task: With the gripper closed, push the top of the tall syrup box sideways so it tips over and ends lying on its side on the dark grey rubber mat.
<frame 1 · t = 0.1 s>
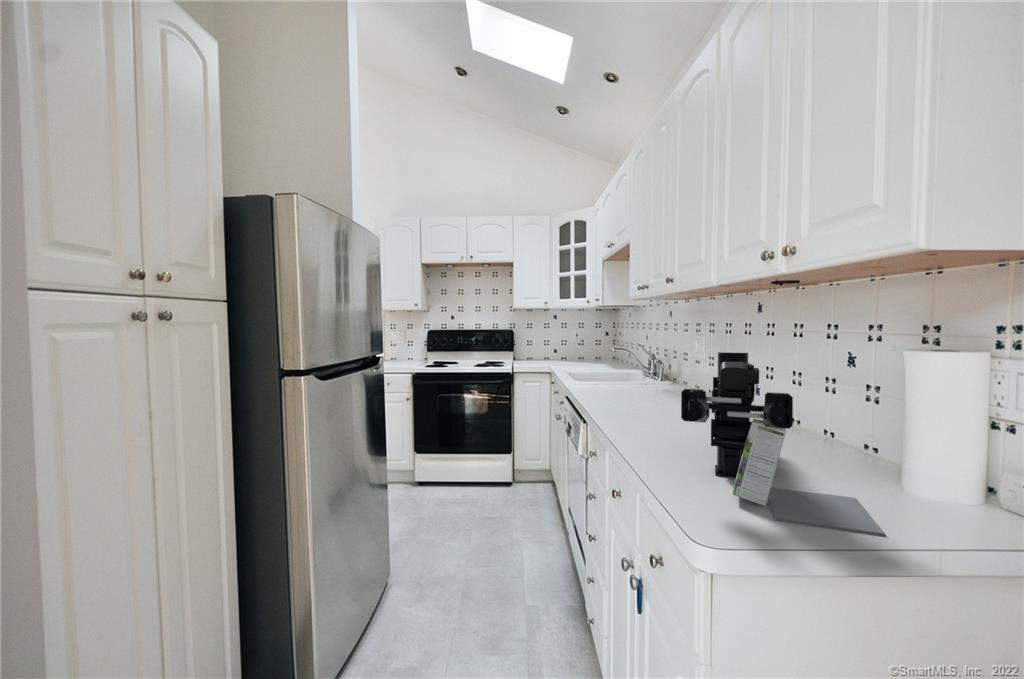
hand: (736, 413, 78), 18 cm above the countertop, tool horizontal, fingers open, 8 cm apart
syrup box: (749, 498, 85), point 1 cm above the countertop, touching gripper
mat: (817, 509, 81), on the countertop
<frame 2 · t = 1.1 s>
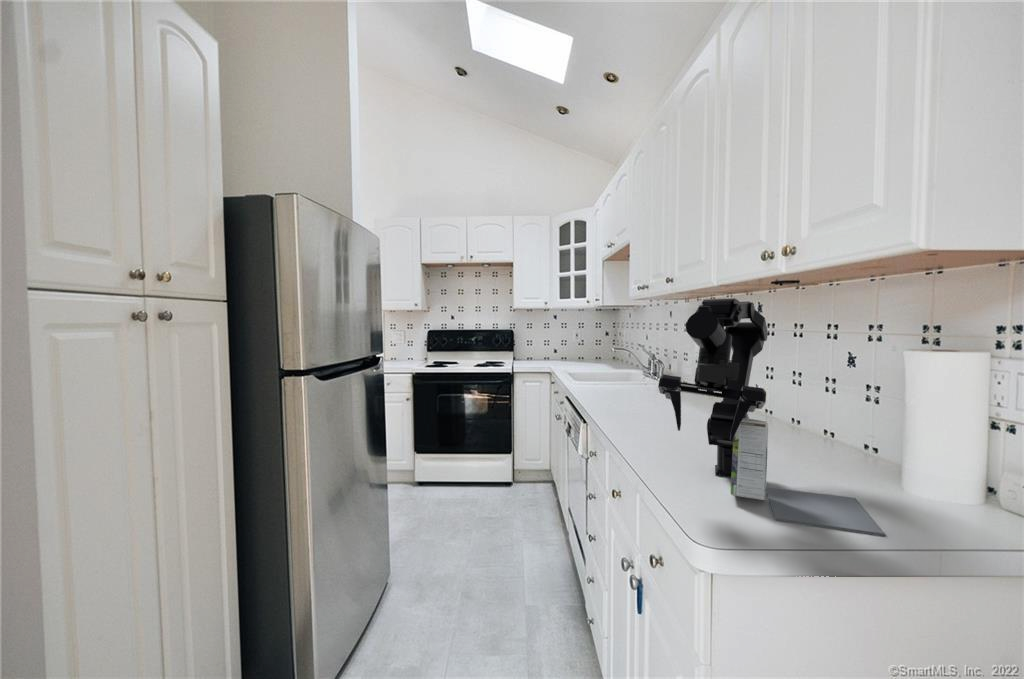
hand: (704, 435, 86), 12 cm above the countertop, tool tilted 25°, fingers open, 9 cm apart
syrup box: (748, 498, 85), point 1 cm above the countertop
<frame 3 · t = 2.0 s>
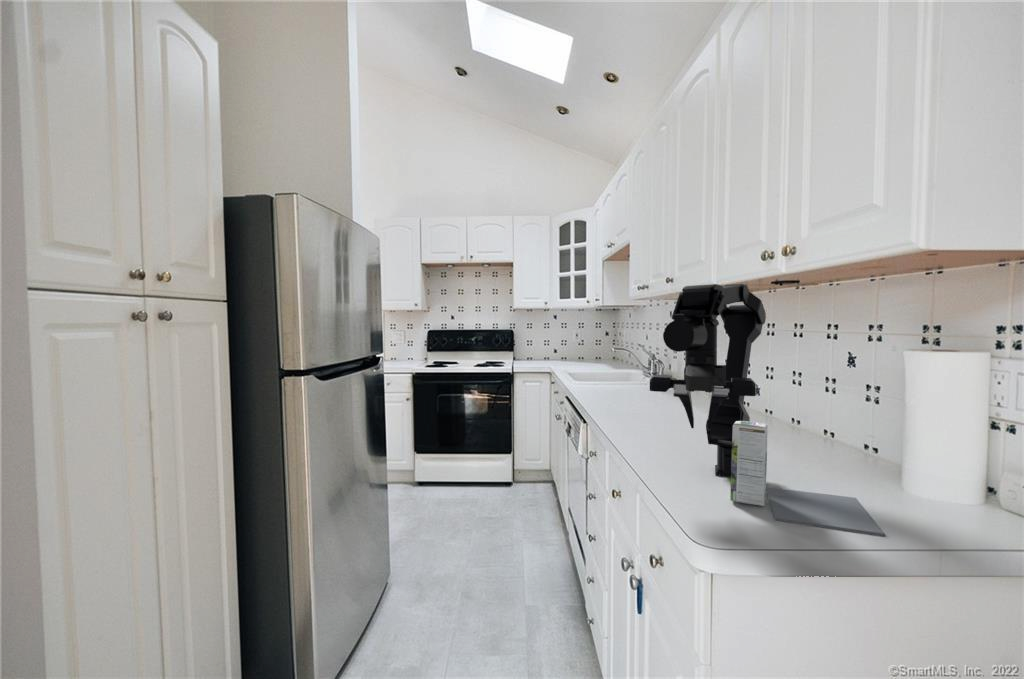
hand: (700, 428, 89), 13 cm above the countertop, tool pointing down, fingers open, 3 cm apart
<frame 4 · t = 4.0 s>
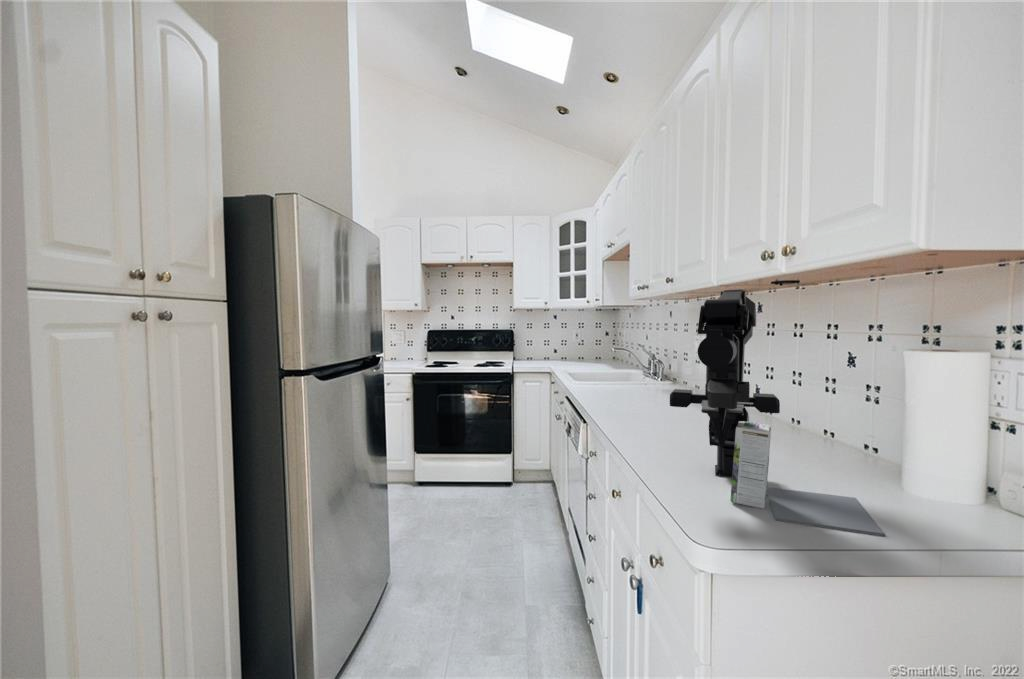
hand: (721, 445, 87), 10 cm above the countertop, tool pointing down, fingers closed
syrup box: (748, 502, 85), on the countertop, touching gripper
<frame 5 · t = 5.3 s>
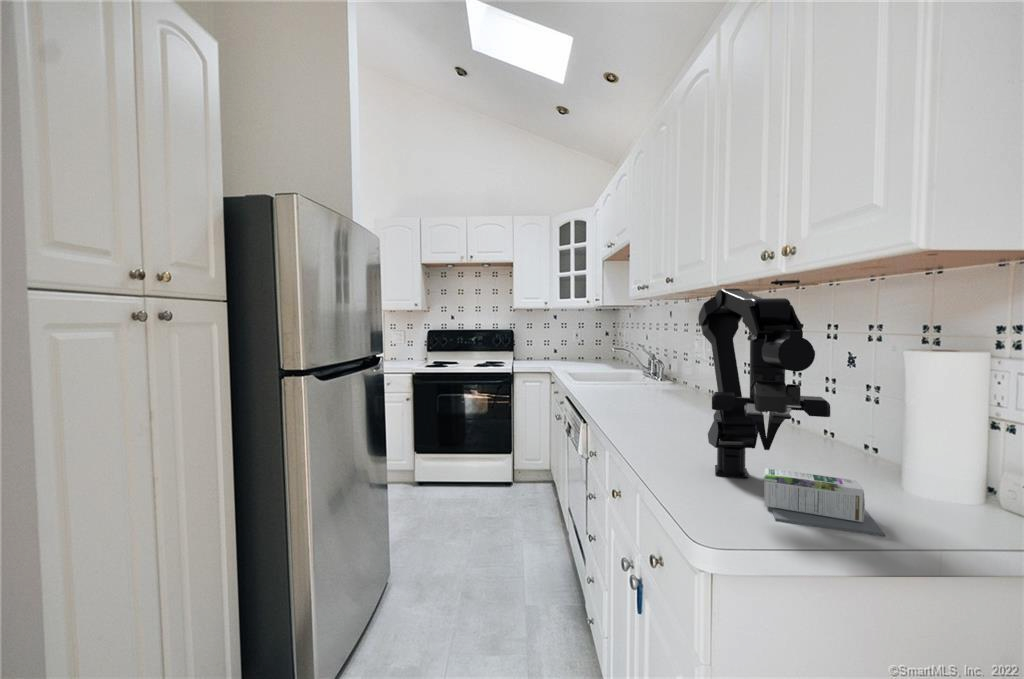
hand: (766, 449, 84), 10 cm above the countertop, tool pointing down, fingers closed
syrup box: (763, 486, 84), point 3 cm above the countertop, touching mat
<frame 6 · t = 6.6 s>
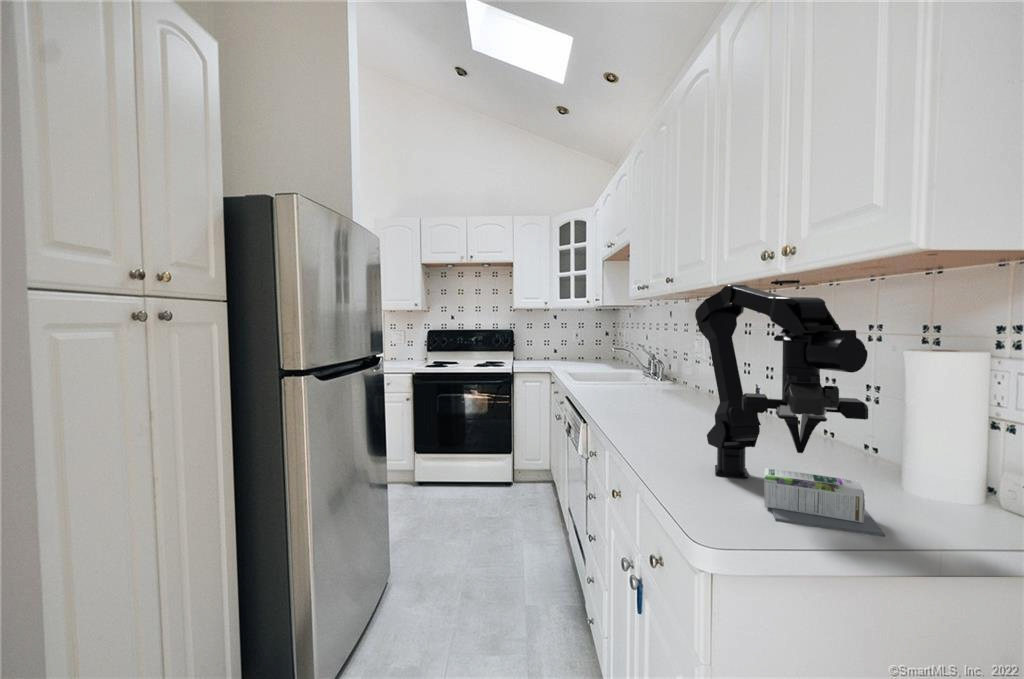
hand: (799, 452, 82), 10 cm above the countertop, tool pointing down, fingers closed
nothing on the countertop moved.
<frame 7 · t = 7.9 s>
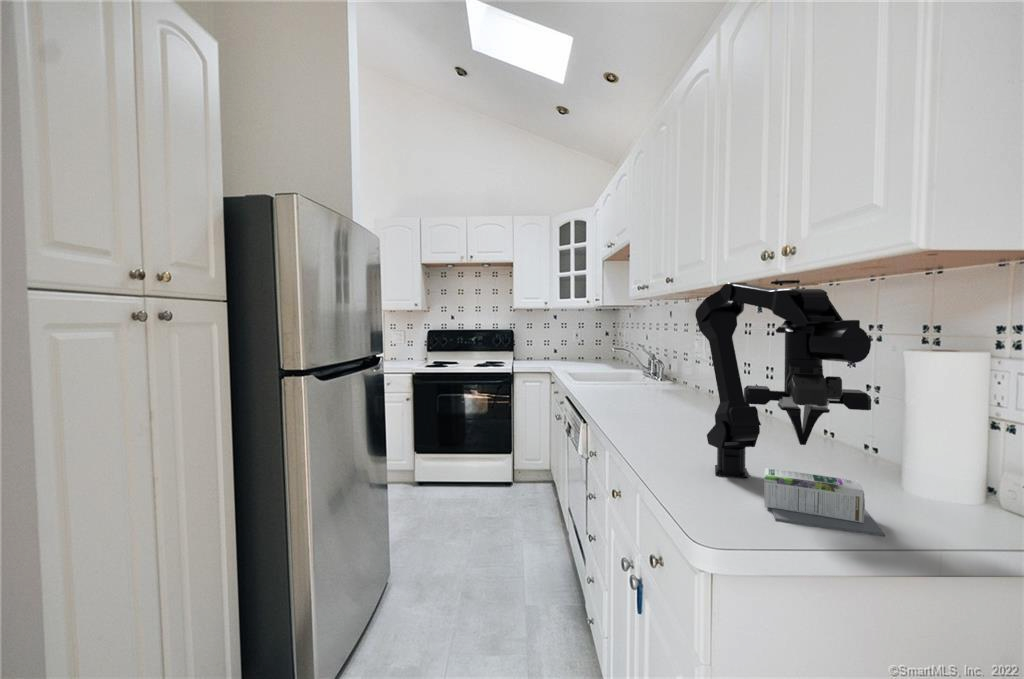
hand: (802, 444, 82), 12 cm above the countertop, tool pointing down, fingers closed
nothing on the countertop moved.
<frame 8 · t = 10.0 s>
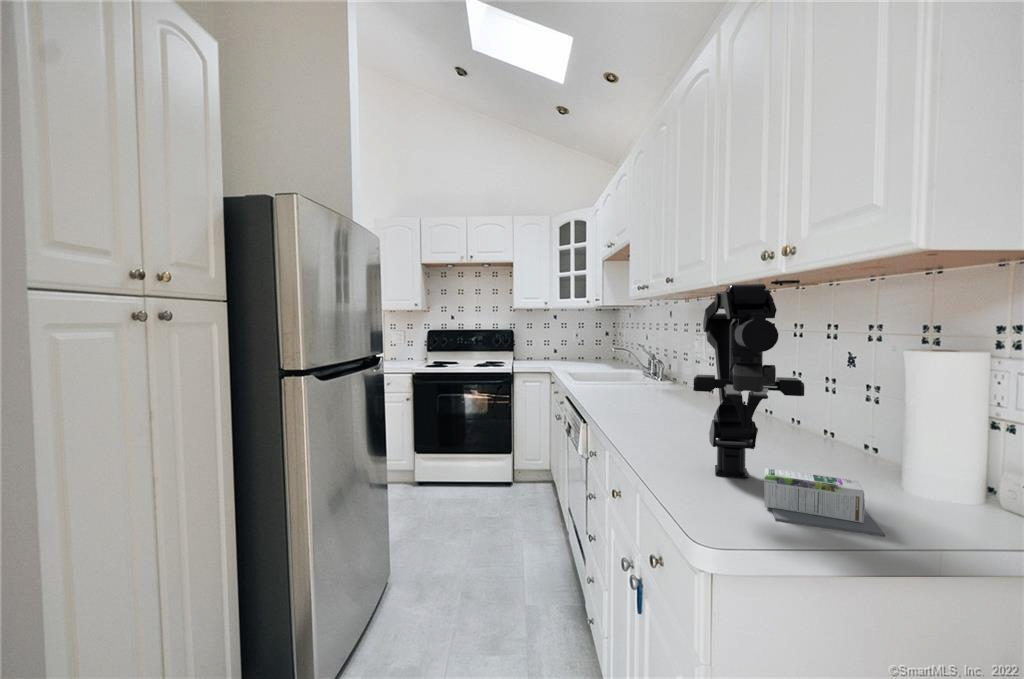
hand: (745, 428, 88), 13 cm above the countertop, tool pointing down, fingers closed
nothing on the countertop moved.
at the end: syrup box tilted 89°; syrup box touching mat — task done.
